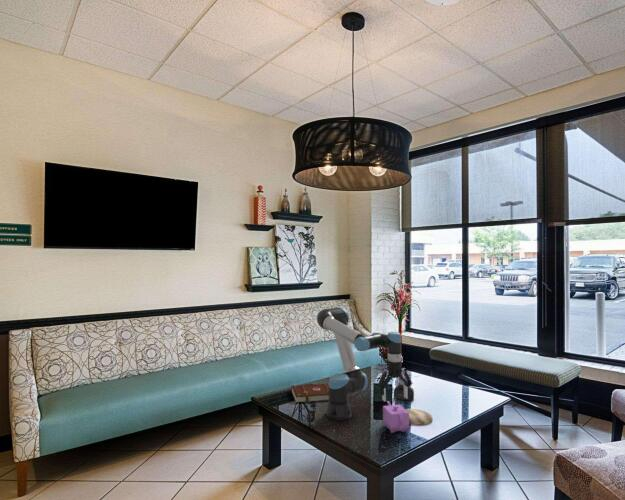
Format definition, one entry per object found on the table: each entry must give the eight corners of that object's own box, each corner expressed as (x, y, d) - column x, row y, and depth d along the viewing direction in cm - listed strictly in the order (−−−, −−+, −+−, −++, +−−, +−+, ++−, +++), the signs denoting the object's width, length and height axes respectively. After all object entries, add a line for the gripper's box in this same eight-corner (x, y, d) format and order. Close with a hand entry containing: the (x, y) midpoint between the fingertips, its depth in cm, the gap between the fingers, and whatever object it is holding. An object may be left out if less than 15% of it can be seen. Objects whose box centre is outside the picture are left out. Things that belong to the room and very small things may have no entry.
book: (342, 400, 254) (342, 392, 254) (295, 403, 248) (296, 395, 248) (334, 388, 276) (334, 381, 276) (291, 391, 270) (291, 384, 270)
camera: (412, 396, 260) (412, 381, 260) (414, 401, 250) (414, 386, 250) (392, 395, 261) (392, 380, 262) (394, 400, 252) (394, 385, 252)
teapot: (411, 435, 203) (411, 411, 204) (393, 436, 201) (393, 412, 202) (395, 419, 223) (395, 397, 223) (379, 420, 221) (379, 399, 221)
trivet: (409, 427, 213) (409, 425, 213) (391, 413, 232) (391, 411, 232) (439, 422, 219) (439, 420, 219) (419, 409, 238) (419, 407, 238)
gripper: (377, 364, 205) (377, 404, 205) (417, 360, 213) (418, 398, 212) (371, 360, 213) (371, 399, 212) (410, 357, 220) (410, 394, 220)
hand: (394, 399), depth 212 cm, fingers open, 13 cm apart
